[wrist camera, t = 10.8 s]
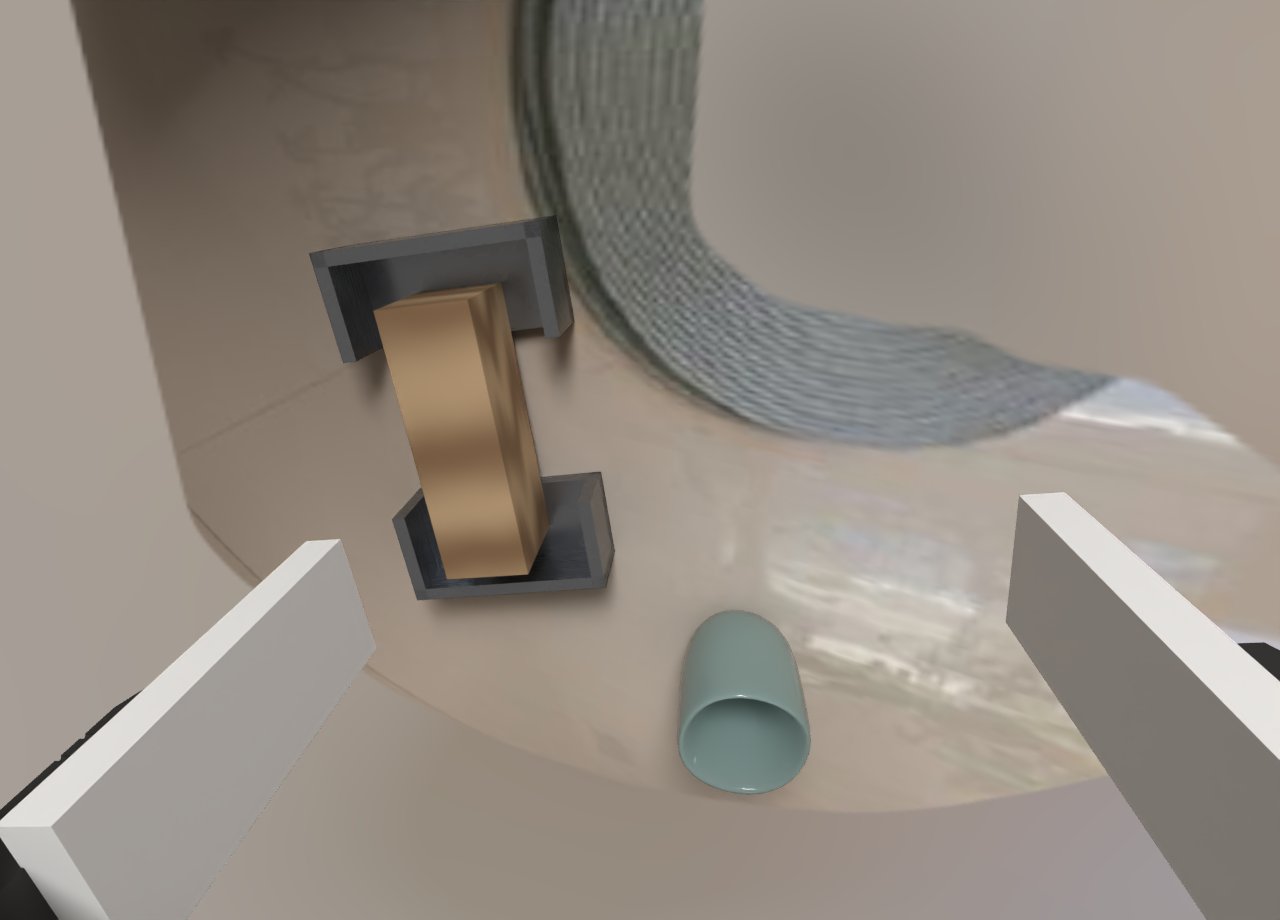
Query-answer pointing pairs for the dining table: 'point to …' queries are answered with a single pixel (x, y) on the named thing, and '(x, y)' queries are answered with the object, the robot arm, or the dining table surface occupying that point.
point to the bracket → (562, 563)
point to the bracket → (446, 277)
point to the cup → (741, 706)
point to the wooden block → (467, 427)
